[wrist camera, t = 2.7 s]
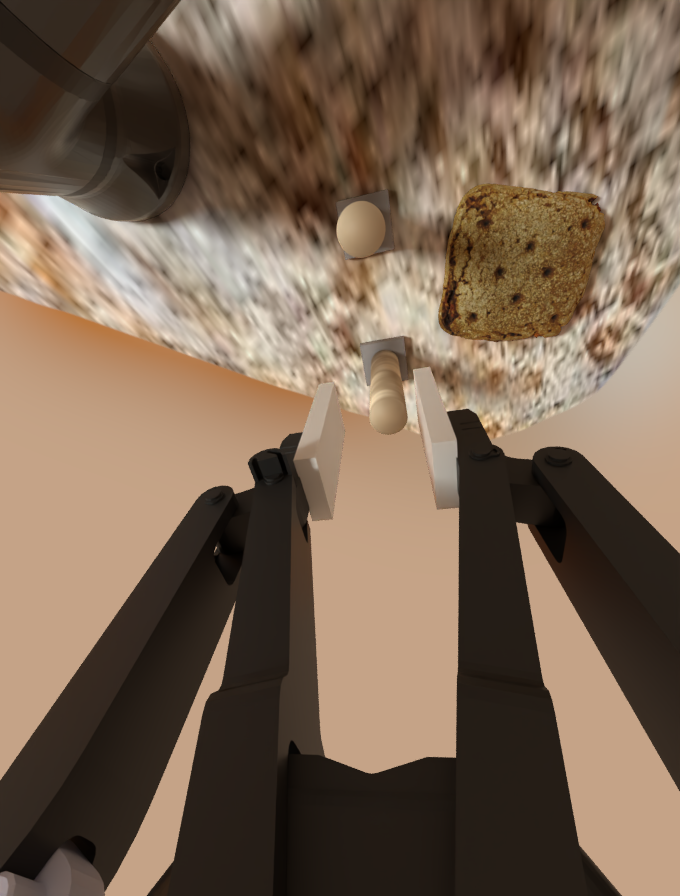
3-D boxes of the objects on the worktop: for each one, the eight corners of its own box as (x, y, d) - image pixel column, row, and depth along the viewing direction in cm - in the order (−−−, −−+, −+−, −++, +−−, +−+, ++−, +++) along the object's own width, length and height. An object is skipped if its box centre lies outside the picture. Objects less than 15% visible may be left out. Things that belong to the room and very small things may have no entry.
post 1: (346, 258, 38) (331, 279, 26) (336, 202, 36) (315, 194, 23) (394, 248, 37) (403, 264, 25) (387, 189, 35) (394, 174, 22)
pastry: (631, 276, 37) (650, 280, 35) (480, 379, 44) (486, 389, 42) (553, 111, 31) (568, 101, 29) (392, 261, 38) (393, 264, 36)
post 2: (367, 382, 45) (364, 446, 33) (360, 343, 43) (354, 395, 30) (407, 376, 45) (420, 439, 32) (403, 335, 42) (415, 386, 29)
